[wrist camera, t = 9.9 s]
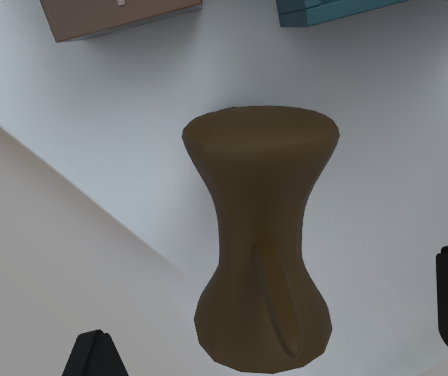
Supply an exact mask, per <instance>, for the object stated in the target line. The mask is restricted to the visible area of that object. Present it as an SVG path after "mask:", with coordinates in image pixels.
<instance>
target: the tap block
mask: <svg viewBox="0 0 448 376" xmlns="http://www.w3.org/2000/svg"><path fill="white" fill-rule="evenodd" d="M40 2H41V5H42V8H43V10H44V13H45V15H46V18H47V20H48V23H49V26H50V28H51V31H52V33H53V36H54V38H55V41H56V42H57V43H60V42H70V41H80V40H86V39H90V38H94V37H97V36H101V35H105V34H109V33H112V32H116V31H120V30H124V29H127V28H131V27H135V26H139V25H142V24H146V23H150V22H153V21H157V20H161V19H165V18H168V17H172V16H176V15H180V14H183V13H187V12H191V11H195V10H198V9H201V8H202V1H201V0H40Z"/></svg>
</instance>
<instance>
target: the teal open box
mask: <svg viewBox="0 0 448 376" xmlns="http://www.w3.org/2000/svg"><path fill="white" fill-rule="evenodd" d="M404 1H408V0H276V2H277V8H278V14H279V20H280V25H281V27H309V26H313V25H317V24H321V23H324V22H328V21H332V20H336V19H340V18H343V17H347V16H351V15H355V14H359V13H363V12H366V11H370V10H374V9H378V8H382V7H385V6H389V5H393V4H397V3H401V2H404Z"/></svg>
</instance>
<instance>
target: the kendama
mask: <svg viewBox="0 0 448 376" xmlns="http://www.w3.org/2000/svg"><path fill="white" fill-rule="evenodd" d="M339 137H340V135H339V130H338V127H337V125H336V124H335V122H334V121H333V120H332V119H330V118H329V117H327V116H326V115H323V114H321V113H318V112H316V111H313V110H307V109H301V108H294V107H283V106H249V107H240V108H237V107H232V108H227V109H223V110H219V111H216V112H211V113H207V114H204V115H202V116H199V117H197V118H195V119H193V120H192V121H191V122H189V123H188V125H187V126H186V127H185V128H184V129H183V134H182V139H183V142H184V145H185V148H186V150H187V152H188V154H189V156H190V158H191V160H192V162H193V164H194V165H195V167H196V169H197V171H198V172H199V174H200V176H201V177H202V179H203V181H204V182H205V184H206V186H207V188H208V190H209V192H210V194H211V196H212V200H213V203H214V206H215V209H216V214H217V220H218V230H219V245H220V247H219V265H218V267H217V269H216V271H215V273H214V275H213V276H212V278H211V279H210V281H209V283H208V284H207V286H206V287H205V289H204V291H203V292H202V294H201V296H200V299H199V302H198V305H197V309H196V313H195V316H194V322H195V327H196V331H197V336H198V340H199V344H200V345H201V346H202V347H203V349H204V350H205V351H206V352H207V353H208V355H209V356H210V357H211V358H212V359H213V361H215V362H217V363H220V364H222V365H225V366H227V367H230V368H232V369H235V370H237V371H240V372H250V373H267V374H274V373H279V372H283V371H287V370H292V369H296V368H300V367H304V366H305V365H307V364H308V363H310V362H311V361H313V360H314V359H316V358H317V357H318V356H320V355H321V354H323V353H324V352H325V349H326V346H327V343H328V341H329V338H330V335H331V332H332V324H331V319H330V314H329V309H328V307H327V304H326V302H325V300H324V299H323V297H322V295H321V294H320V292H319V290H318V289H317V287H316V286H315V284H314V282H313V281H312V279H311V277H310V275H309V274H308V272H307V270H306V268H305V265H304V262H303V258H302V249H301V248H302V225H303V216H304V211H305V206H306V203H307V200H308V197H309V195H310V193H311V191H312V189H313V187H314V185H315V183H316V181H317V179H318V178H319V176H320V174H321V172H322V171H323V169H324V167H325V166H326V164H327V162H328V161H329V159H330V157H331V155H332V153H333V151H334V150H335V148H336V146H337V143H338V140H339Z"/></svg>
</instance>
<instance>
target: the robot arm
mask: <svg viewBox="0 0 448 376" xmlns="http://www.w3.org/2000/svg"><path fill="white" fill-rule="evenodd" d="M436 277H437V304H438V328H439V332H440V335H441V337H442V339H443V341H444V342H445V344H446V345H447V346H448V246H445V247H443V248H442V249H441V253H439V254H437V255H436ZM62 376H128V373H127V371H126V369H125V367H124V364H123V362H122V360H121V358H120V356H119V354H118V351H117V349H116V347H115V345H114V343H113V341H112V338H111V336H110V335H109V334H108V333H105V334H104V333H103V331H101V330H95V331H90V332H86V333H82V334H80V335H78V337H77V339H76V342H75V344H74V347H73V349H72V352H71V354H70V357H69V359H68V362H67V364H66V367H65V369H64V372H63V374H62Z"/></svg>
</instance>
